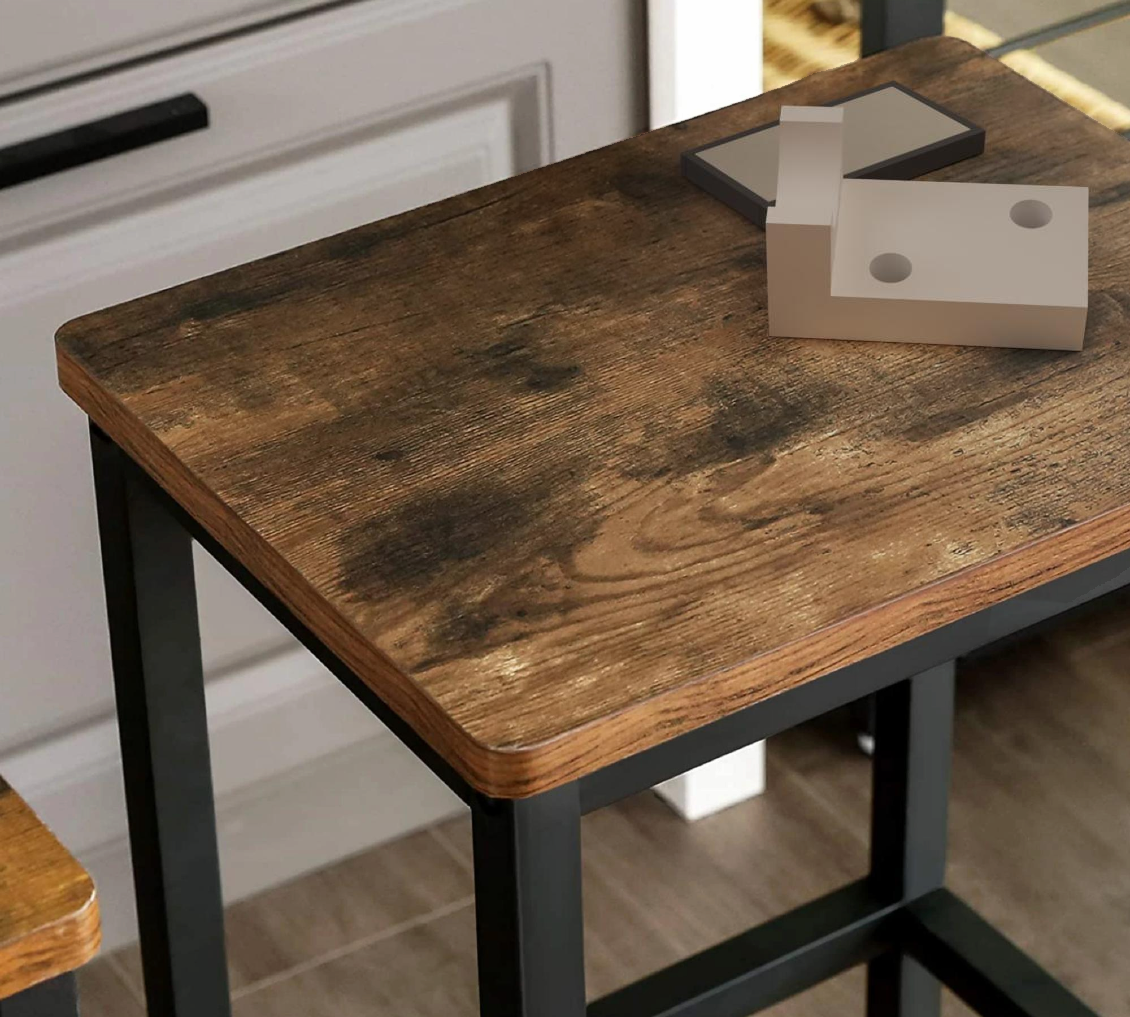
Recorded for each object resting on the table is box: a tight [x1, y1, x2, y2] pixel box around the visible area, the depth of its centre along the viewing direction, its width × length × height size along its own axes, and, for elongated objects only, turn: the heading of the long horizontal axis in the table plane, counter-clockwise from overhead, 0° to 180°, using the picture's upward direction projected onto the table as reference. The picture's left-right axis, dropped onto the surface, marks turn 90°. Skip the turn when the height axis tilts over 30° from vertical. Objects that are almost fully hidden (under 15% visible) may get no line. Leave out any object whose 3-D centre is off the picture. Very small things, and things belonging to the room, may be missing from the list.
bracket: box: [765, 105, 1090, 352], centre depth 91 cm, size 13×7×8 cm, turn 80°
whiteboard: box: [679, 80, 987, 232], centre depth 104 cm, size 13×7×1 cm, turn 122°
